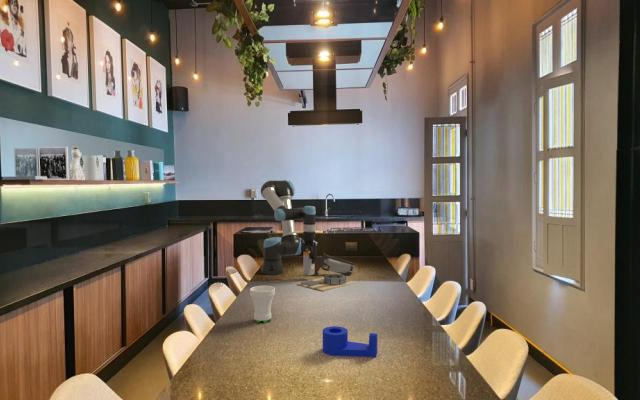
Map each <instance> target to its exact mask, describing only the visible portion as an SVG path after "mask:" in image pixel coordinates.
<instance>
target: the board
mask: <svg viewBox="0 0 640 400" xmlns="http://www.w3.org/2000/svg"><path fill="white" fill-rule="evenodd" d="M311 280H312V281H317V282H321V283H322V284H317V285H313V286H309V285H305V284H301V283H302V282H303V281H302V282H296V285H297V286H300V287H305V288H309V289H313V290H316V291H319V292H326V291H327V292H328V291H330V290H334V289H338V288H342V287H346V286H350V285H353V284H355V282H354V281H350V280H346V284H342V285H329V284H325V283H324V276H323V277H319V278H316V279H311ZM306 281H307V280H305V281H304V282H306Z"/></svg>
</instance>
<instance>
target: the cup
mask: <svg viewBox="0 0 640 400" xmlns="http://www.w3.org/2000/svg"><path fill="white" fill-rule="evenodd" d="M249 295H250V297H251V300H252V303H253V304H252V305H253V309H254V313H253V319H254V321H255V322H256V323H261V322H263V323H264V324H266V323H267V322H268V321H269V322H270V321H271V320H272V312H271V311H272V303H273V299H274V296H275V295H276V288H275V286H271V285H258V286H256V285H255V286H253V287H250V288H249Z"/></svg>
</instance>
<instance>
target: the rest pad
mask: <svg viewBox="0 0 640 400" xmlns="http://www.w3.org/2000/svg"><path fill="white" fill-rule="evenodd" d="M312 280H313V279H309V280H305V281H306V282H305V281H302V283H301V282H300V283H301V284H305V285H309V286H313V285H317V284H322V283H321V282H317V281H312Z"/></svg>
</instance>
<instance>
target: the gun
mask: <svg viewBox="0 0 640 400" xmlns="http://www.w3.org/2000/svg"><path fill="white" fill-rule="evenodd" d="M326 267H327V268H326ZM354 268H355V264H354V262H352V261H349V260H345V259H342V258H339V257H335V256H332V255H328V254H327V253H324V252H323V253H322V256H321V255H319V256H317V258H315V274H313V275H314V276H318V275H319V271H320V269H322V271H325V272H329V271H330V272H334V273H335V274H341V275H345V276H346V277H347V276H350V275H352V274H353V273H354Z"/></svg>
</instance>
